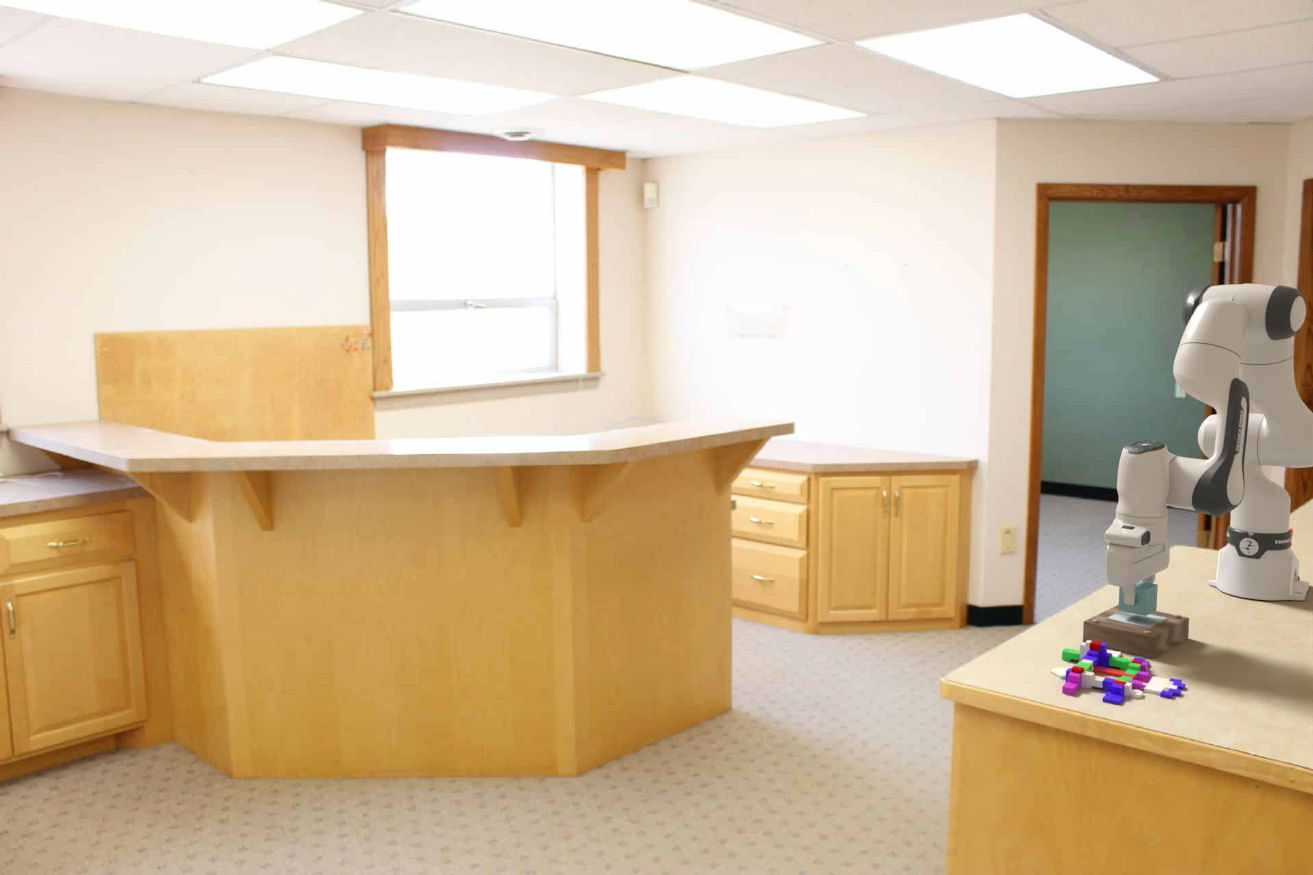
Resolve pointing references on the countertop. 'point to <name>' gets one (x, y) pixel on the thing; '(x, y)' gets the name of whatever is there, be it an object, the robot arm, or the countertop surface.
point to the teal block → (1141, 599)
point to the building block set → (1112, 674)
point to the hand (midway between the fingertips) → (1137, 600)
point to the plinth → (1137, 631)
